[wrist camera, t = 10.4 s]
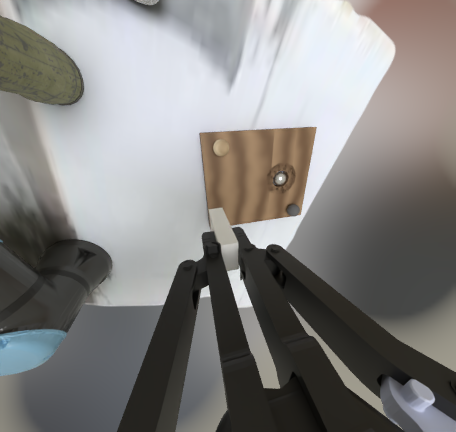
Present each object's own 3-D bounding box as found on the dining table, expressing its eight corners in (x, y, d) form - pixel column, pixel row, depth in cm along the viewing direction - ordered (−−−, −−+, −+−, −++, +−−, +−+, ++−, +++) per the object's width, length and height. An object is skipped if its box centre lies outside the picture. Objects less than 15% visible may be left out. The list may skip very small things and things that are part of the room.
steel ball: (277, 187, 45) (288, 185, 46) (278, 174, 43) (289, 172, 44) (269, 184, 48) (279, 182, 49) (270, 171, 46) (281, 169, 47)
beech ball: (212, 155, 39) (215, 158, 36) (211, 139, 37) (213, 140, 34) (227, 154, 39) (231, 156, 36) (227, 138, 38) (230, 139, 35)
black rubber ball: (283, 213, 51) (290, 219, 48) (285, 203, 49) (291, 208, 46) (294, 212, 51) (301, 217, 48) (296, 201, 50) (303, 206, 47)
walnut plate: (209, 224, 49) (210, 228, 47) (199, 132, 38) (200, 133, 36) (295, 211, 54) (300, 214, 52) (309, 127, 43) (316, 127, 41)
